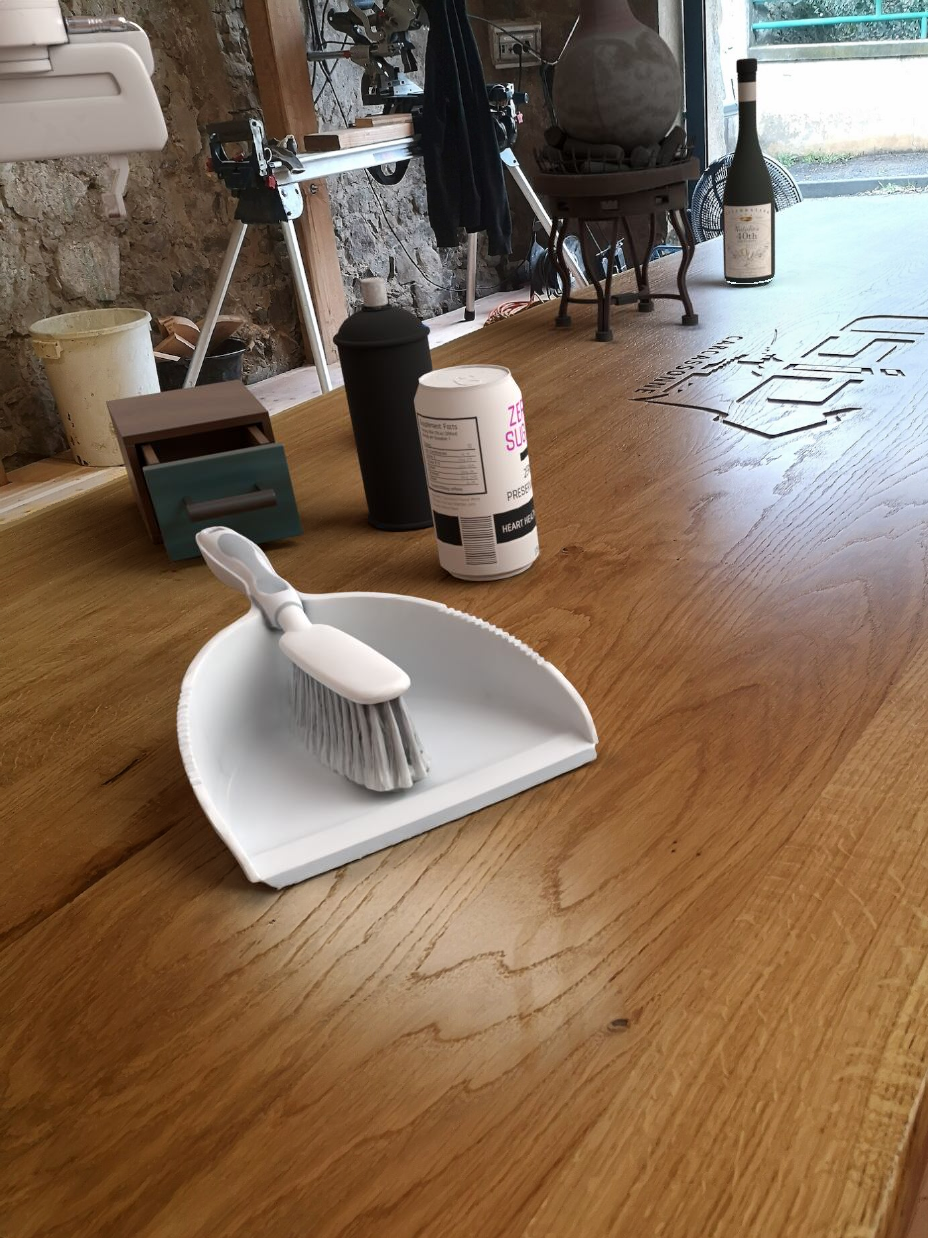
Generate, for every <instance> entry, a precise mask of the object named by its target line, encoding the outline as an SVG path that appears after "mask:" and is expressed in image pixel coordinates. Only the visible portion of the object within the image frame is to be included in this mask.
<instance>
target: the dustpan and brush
mask: <svg viewBox="0 0 928 1238" xmlns="http://www.w3.org/2000/svg"><path fill="white" fill-rule="evenodd" d="M196 542H197V544H198V546H199V549H200V551H201V553H202V557H203V559H204V561H205V563H206V565H207V566H208V568H209V570H210V571H211V572H212V574H213V575H214V576H215V578H217V580H219V581H220V582H221V583H222V584H223V585H225V586H226V587H228V588H230V589H232V590H235V591H237V592H239V593H241V594H242V595H243V596H245V597H246V598H248V599H249V602H250V609H249V610H248V611H247V613H246V614H244V615H243V616H241V617H240V618H238V619H237V620H236V621H234V622H232V623H230V624H229V625H227V626H226V627H224V628H223V629H221V630H219V631H218V632H217V633H216V634H214V635H213V637H211V638H210V639H209V640H208V641H207V642H206V643H205V644H204V645H203V646H202V648H201V649H199V651H198V652H197V654H196V655H195V656H194V658H193V659H192V661H191V662H190V664H189V666H188V668H187V670H186V672H185V674H184V676H183V679H182V681H181V685H180V694H179V699H178V701H177V704H178V705H177V706H176V707H177V709H176V710H177V712H176V734H177V741H178V743H177V744H178V748H179V752H180V758H181V762H182V765H183V767H184V771H185V773H186V776H187V780H188V781H189V785H190V786H191V788H192V791H193V794H194V796H195V798H196V800H197V802H198V804H199V806H200V808H201V809H202V811H203V813H204V815H205V816H206V819H207V820H208V822H209V823H210V825H211V826H212V828H213V830H214V831H215V832H216V834H217V835H218V837H219V838H220V839H221V840H222V842H223V843H224V844H225V846H226V847H227V848H228V849H229V851H230V853H232V855H233V857H234V858H235V860H236V862H237V863H238V864H239V866H240V868H241V870H242V872H243V873H244V875H245V877H246V878H247V880H248V881H249V882H251V883H252V884H255V883H259V882H261V883H264V884H266V885H267V886H269V887H271V888H276V889H277V891H279V890H281V889H283V888H284V887H287V886H292V885H293V884H298V883H300V882H303V881H305V880H307V879H310V878H312V877H315V876H317V875H321V874H322V873H325V872H328V871H330V870H333V869H336V868H339V867H341V866H343V865H345V864H348V863H351V862H352V861H355V860H358V859H362V858H363V857H365V856H367V855H370V854H373V853H376V852H378V851H380V850H383V849H385V848H388V847H390V846H394V845H396V844H398V843H400V842H403V841H405V840H410V839H411V838H413V837H416V836H418V835H422V833H425V832H428V831H431V830H432V829H436V828H437V827H440V826H442V825H445V824H447V823H449V822H450V823H451V822H453V821H455V820H458V819H460V818H463V817H465V816H468V815H470V814H472V813H474V812H477V811H479V810H482V809H484V808H485V807H488V806H491V805H493V804H497V803H498V802H500V801H503V800H505V799H508V798H510V797H512V796H515V795H517V794H519V793H521V792H523V791H526V790H528V789H531V788H532V787H534V786H537V785H539V784H542V783H545V782H547V781H550V780H552V779H554V778H555V777H559V776H560V775H562V774H564V773H567V772H569V771H571V770H574V769H577V768H579V767H581V766H584V765H585V764H587V763H590V762H592V761H595V760H596V759H597V751H596V745H598V744H599V743H600V742H599V738H598V734H597V729H596V726H595V724H594V719H593V718H592V715H591V712H590V711H589V708H588V706H587V704H586V703H585V700H584V699H583V698H582V696H581V695H580V693H579V692H578V690H577V689H576V688H575V687H574V685H573V684H572V683H571V682H570V681H569V680H568V679H567V678H566V676H564V675H563V673H562V672H561V671H560V670H558V668H557V667H555V665H553V664H552V663H551V662H550V661H546V660H545V657H543V656H540V654H539V652H536V651H534V650H533V648H532V647H529V646H528V644H527V643H522V640H521V639H516V636H515V635H510V634H509V632H508V631H503V629H502V628H501V627H499V628H497V627H496V625H495V624H490V623H489V621H484V620H483V619H482V618H477V617H476V616H475V615H470V614H469V613H468V612H462V610H455V608H454V607H449V608H448V607H447V605H446V604H444V603H441V602H438V601H433V600H430V599H425V598H421V597H417V596H411V595H403V594H397V593H391V592H389V593H388V592H378V591H377V592H376V591H343V592H330V593H329V592H328V593H304V592H300V591H298V590H297V589H295V588H294V587H293V586H292V585H291V584H290V582H288V581H287V580H286V579H284V578H282V577H281V576H280V575H278V573H276V571H275V570H274V567H273V566H272V564H271V562H270V560H269V558H268V556H266V554H265V553H264V551H263V550H262V549H261V548H260V546H258V544H254V543H253V542H252V541H250V540H249V539H247V538H246V537H244V536H242V535H240V534H238V533H237V532H235V531H233V530H231V529H229V528H226V527H221V526H220V527H211V528H207V529H204V530H202V531H201V532H199V533H197V534H196Z"/></svg>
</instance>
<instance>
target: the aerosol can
mask: <svg viewBox="0 0 928 1238" xmlns="http://www.w3.org/2000/svg"><path fill="white" fill-rule="evenodd" d="M360 287H361V292H362V299H363V305H364V306H362V307H361V309H360V310H357V311H356V312H354V313H351V315H349V316H348V317H346V318H345V319H344V320H343V321H342V323H341V325H340V326H339V328H338V331H337V333H335V334H334V335H333V336H332V343H333V344H334V345H335V346H336V348H337V354H338V359H339V364H340V369H341V375H342V380H343V385H344V390H345V395H346V401H347V406H348V412H349V416H350V417H349V418H350V422H351V426H352V431H353V438H354V442H355V448H356V449H355V450H356V453H357V454H356V455H357V458H358V463H359V464H358V465H359V469H360V474H361V475H360V476H361V479H362V485H363V488H364V489H363V490H364V496H365V500H366V505H367V511H368V513H367V515H366V520H367V522H368V524H369V525H370V526H372V527H374V528H377V529H380V530H384V531H396V532H397V531H400V532H401V531H413V530H421V529H426V528H430V527H434V522H433V516H432V510H431V503H430V497H429V491H428V485H427V479H426V473H425V466H424V460H423V454H422V448H421V442H420V435H419V429H418V423H417V417H416V411H415V405H414V398H415V395H416V392H417V389H418V386H419V378H420V377H422V376H423V375H425V374H427V373H430V372H432V371H434V369H433V362H432V355H431V348H430V342H429V335H430V333H431V328H430V327H429V326H428V325H427V324H425V323H423V322H422V320H421V319H420V318H418V317H417V316H416V315H415V314H414V313H413V312H412V311H409V310H406V309H404V308H401V307H396V306H393V305H392V304H391V303H389V300H388V294H387V289H386V282H385V278H383V277H381V276H379V277H378V276H375V277H373V276H372V277H367V278H363V279H361V280H360Z"/></svg>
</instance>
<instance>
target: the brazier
mask: <svg viewBox="0 0 928 1238" xmlns="http://www.w3.org/2000/svg"><path fill="white" fill-rule="evenodd" d="M577 2H578V3H577V4H578V23H577V28H576V31H575V33H574V35H573V37H572V38H571V39H570V41H569V42H568V43H567V45H566V46H565V47H564V48H563V50H562V52H561V54H560V55H559V58H558V61H557V63H556V66H555V70H554V75H553V78H552V79H553V80H552V89H551V90H552V91H551V94H552V108H553V111H554V114H555V118H556V121H557V122H558V125H555V124H554V125H550V127H548V128H547V129H546V130H544V131H543V137H544V140H545V142H546V144H542V148H541V147H538V153H537V149H536V146H533V148H532V153H533V156H534V157H533V158H534V161H535V163H536V165H537V166H538V169H535V170H532V171H531V173H530V174H531V182H532V191H533V193H535V194H538V195H542V196H547V200H548V201H547V202H548V209H549V214H550V215H551V217H552V218H551V219H552V220H551V228H550V232H549V237H548V242H547V257H548V260H549V262H550V265H552V267H553V269H554V270H555V272H556V273H557V275H558V276H559V278H560V281H561V287H562V288H561V289H562V290H561V298H560V303H559V308H558V315H557V316H555V317H554V322H555V323H554V325H555V327H569V326H571V325H572V324H573V321H572V316H571V315H568V306H569V304H575V305H576V304H577V305H597V315H596V316H597V318H596V319H597V320H596V325H597V328H596V329H597V330H596V331H594V335H595V336H594V337H595V341H596V342H608V341H613V339H614V335H613V334H614V333H613V329H611V323H610V322H611V306H617V307H619V306H625V305H631V304H637V311H638V312H641V313H645V312H647V313H649V312H653V311H654V310H655V306H654V305H655V302H654V301H652V300H659V299H660V300H661V299H662V300H674V301H675V300H676V301H680V302H682V305H683V308H684V313H685V314H683V315H681V325H682V326H694V325H698V324H699V314H697V313H695V311H694V307H693V303H692V300H691V297H690V295H689V292H688V288H687V283H686V282H687V280H686V279H687V278H686V276H687V273H688V270H689V267H690V266H691V263H692V260H693V258H694V255H695V252H696V240H695V235H694V232H693V229H692V226H691V224H690V222H689V218H688V215H687V211H686V203H687V183H686V181H689V180H691V181H692V180H693V181H694V180H700V179H701V167H700V163H701V162H700V158H699V157H696V156H694V155H693V152H694V149H695V144H696V137H697V135H696V134H693V135H692V137H688V135H687V132H686V130H685V129H683V127H682V126H680V125H678V124H677V125H674V123H675V122H676V119H677V117H678V114H679V111H680V108H681V104H682V95H683V84H682V81H683V80H682V76H681V73H680V68H679V65H678V62H677V60H676V57H675V55H674V53H673V52H672V50H671V48H670V47H669V45H668V44H667V42H666V41H665V40H664V39H663V38H662V36H661V35H660V34H658V33H657V32H656V31H655V30H654V29H652V28H651V27H648V26H647V25H646V24H644V23H642V22H641V21H640V20H638V19H637V18H636V17H635V16H634V14H633V13H632V11H631V9H630V6H629V3H628V0H577ZM673 126H674V127H673ZM672 127H673V128H672ZM685 140H686V141H685ZM678 153H679V154H678ZM685 153H686V154H685ZM692 155H693V156H692ZM545 162H546V163H548V164H549V165H550V167H547V166H546V163H545ZM657 199H661V202H659V203H657ZM609 202H612V203H613V204H615V202H616V204H617V207H616V208H610V209H609V208H604V207H603V204H604V203H606V204H609ZM665 211H668V217H669V220H670V223H671V226H672V228H673V231H674V233H675V235H676V236H677V238H678V241H679V244H680V246H681V252H682V256H681V261H680V263H679V268H678V270H677V276H676V285H677V291H678V293H679V294H677V293H651V288H650V282H649V264H650V261H651V259H652V254H653V252H654V248H655V244H656V240H657V234H658V233H657V232H658V231H657V229H658V217H657V213H660V212H665ZM677 212H678V213H679V216H680V220H681V223H682V226H683V227H684V230H685V233H686V235H685V234H684V231H683V229H682V227H681V225H680V222H679V219H678V217H677ZM648 214H649V221H650V223H649V225H650V226H649V227H650V228H649V240H648V244H647V248H646V252H645V255H644V257H643V261H642V265H641V266H640V260H639V255H638V252H637V247H636V241H635V238H634V235H633V232H632V228H631V226H630V223H629V220H628V218H627V217H633V216H640V215H641V216H642V215H648ZM559 218H562V221H561V226H560V228H559V232H558V227H559V222H560V221H559V220H560V219H559ZM571 219H577V223H578V224H577V225H578V233H579V248H580V255H581V260H582V265H583V268H584V271H585V272H586V274H587V276H588V279H589V280H590V282H591V283H592V285H593V287H594V290H595V291H596V298H575V297H571V291H572V277H571V274H570V270H569V267H568V265H567V262H566V259H565V256H564V252H563V251H564V250H563V249H564V243H565V242H564V241H565V237H566V234H567V231H568V229H569V225H570V221H571ZM620 220H621V223H622V226H623V228H624V231H625V234H626V238H627V241H628V247H629V250H630V256H631V259H632V265H633V268H634V274H635V280H636V286H637V292H632V291H629V292H623V293H618V294H617V293H616V294H612V282H613V272H614V263H615V257H616V250H617V245H618V239H619V233H620V224H621V223H620ZM589 222H590V223H591V222H612V234H611V240H610V245H609V251H608V255H607V256H608V257H607V263H606V273H605V284H604V290H603V287H602V284H601V282H600V280H599V278H598V277H597V275H596V273H595V271H594V269H593V267H592V265H591V261H590V257H589V256H590V255H589V249H588V240H587V239H588V237H587V224H586V223H589ZM557 232H558V235H557ZM556 237H557V240H556ZM686 237H687V238H686ZM555 241H556V244H555Z"/></svg>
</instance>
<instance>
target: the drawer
mask: <svg viewBox="0 0 928 1238" xmlns="http://www.w3.org/2000/svg"><path fill="white" fill-rule="evenodd" d="M138 447H139V450H140V454H141V457H142V461H143V464H144V467H143V472H144V475H145V478H146V482H147V485H148V489H149V492H150V496H151V499H152V503H153V506H154V509H155V513H156V516H157V520H158V523H159V527H160V530H161V533H162V537H163V540H164V542H163V543H164V548H165V550H166V553H167V557H168V560H169V562H171V563H172V562H176V561H181V560H188V559H192V558H196V557H200V556H202V557H203V555H202V553H201V551H200V549H199V546H198V544H197V542H196V534H197V533H199V532H201V531H202V530H204V529H207V528H211V527H220V526H221V527H226V528H229V529H231V530H233V531H235V532H237V533H238V534H240V535H242V536H244V537H246V538H247V539H249V540H250V541H252V542H253V543H254V544H256V545H258V544H259V545H260V544H263V543H269V542H273V541H279V540H283V539H289V538H293V537H298V536H303V535H304V531H303V528H302V527H303V526H302V523H301V518H300V514H299V510H298V505H297V500H296V498H295V497H296V496H295V492H294V487H293V482H292V478H291V473H290V470H289V466H288V461H287V457H286V452H285V447H284V444H283V443H282V442H281V441H278V442H275V443H272V444H270V442H269V441H268V440H267V439H266V437H265V436H264V435H263V434H262V433H261V431H260V430H259V429H258V428H257V427H256V425H255V424H254V423H253V424H247V425H241V426H236V427H230V428H224V429H218V430H213V431H207V432H201V433H196V434H190V435H184V436H179V437H173V438H167V439H162V440H156V441H150V442H145V443H139V444H138Z"/></svg>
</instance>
